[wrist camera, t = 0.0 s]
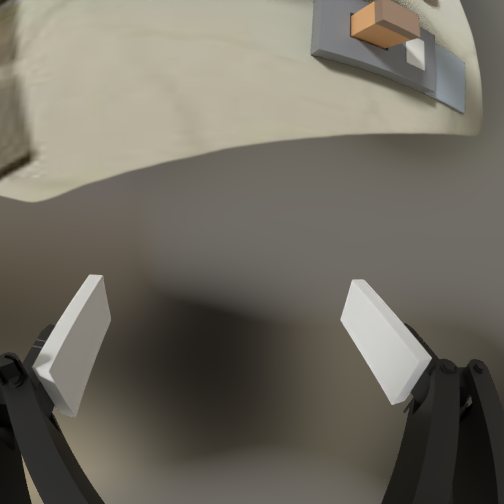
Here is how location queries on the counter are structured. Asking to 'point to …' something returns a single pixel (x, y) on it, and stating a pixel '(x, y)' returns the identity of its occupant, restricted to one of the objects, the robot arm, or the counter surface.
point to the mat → (449, 80)
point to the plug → (384, 24)
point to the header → (372, 47)
